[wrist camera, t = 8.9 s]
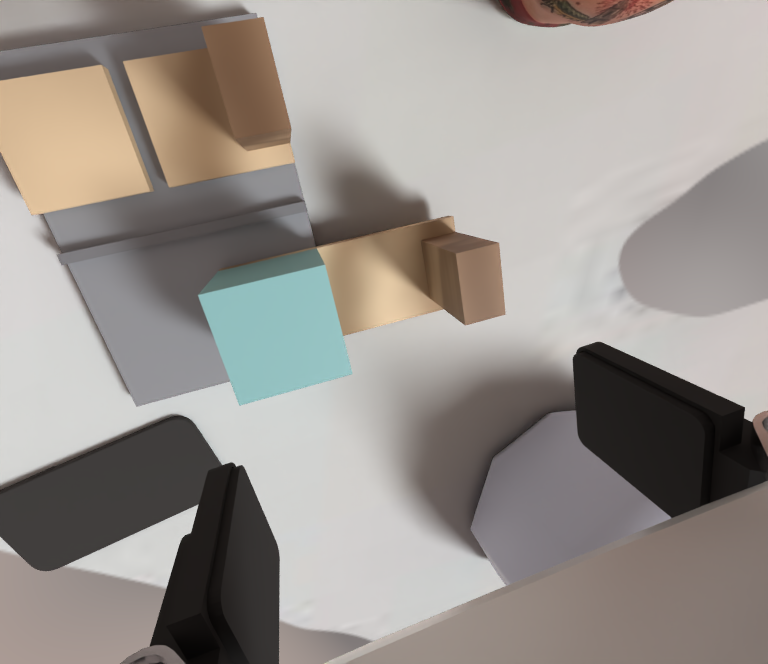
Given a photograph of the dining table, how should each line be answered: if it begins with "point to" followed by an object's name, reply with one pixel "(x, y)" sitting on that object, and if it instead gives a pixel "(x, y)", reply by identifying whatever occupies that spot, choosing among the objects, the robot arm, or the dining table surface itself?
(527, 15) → the decorative planter
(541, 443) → the light grey vase
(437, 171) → the dining table surface
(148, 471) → the phone
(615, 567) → the robot arm
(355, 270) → the strip cube lane
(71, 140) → the lane board
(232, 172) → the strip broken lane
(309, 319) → the cube
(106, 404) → the dining table surface
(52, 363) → the dining table surface
